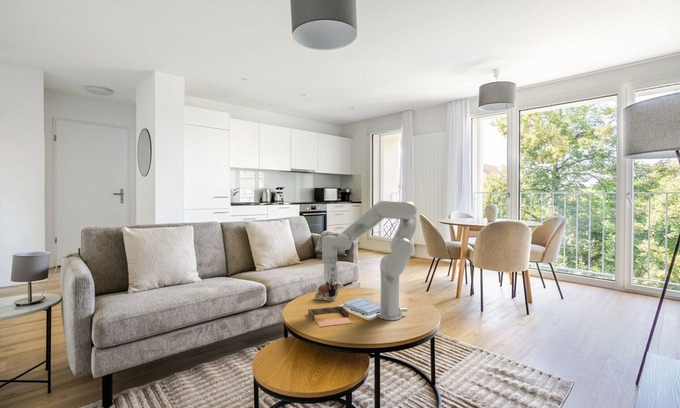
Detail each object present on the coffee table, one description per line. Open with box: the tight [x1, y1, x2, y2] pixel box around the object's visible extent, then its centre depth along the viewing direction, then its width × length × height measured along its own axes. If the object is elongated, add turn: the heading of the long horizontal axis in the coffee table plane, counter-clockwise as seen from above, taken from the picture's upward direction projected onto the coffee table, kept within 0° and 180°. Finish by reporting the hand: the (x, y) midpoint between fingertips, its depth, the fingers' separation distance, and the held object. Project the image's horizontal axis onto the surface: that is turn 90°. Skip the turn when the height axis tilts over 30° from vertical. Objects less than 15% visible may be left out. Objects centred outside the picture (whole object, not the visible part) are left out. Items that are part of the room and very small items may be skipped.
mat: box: [316, 317, 353, 328], centre depth 156 cm, size 16×7×1 cm, turn 108°
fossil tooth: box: [315, 281, 340, 302], centre depth 192 cm, size 12×6×15 cm
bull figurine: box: [317, 281, 344, 301], centre depth 165 cm, size 4×13×8 cm, turn 112°
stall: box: [307, 305, 350, 322], centre depth 166 cm, size 19×10×2 cm, turn 108°
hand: (330, 294), depth 165 cm, fingers closed on bull figurine, 4 cm apart
